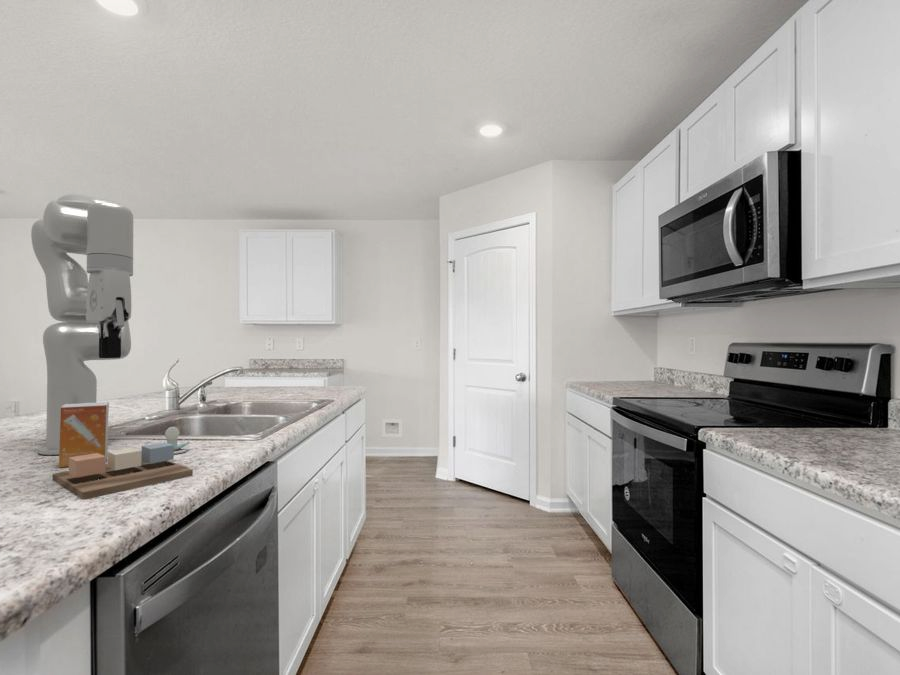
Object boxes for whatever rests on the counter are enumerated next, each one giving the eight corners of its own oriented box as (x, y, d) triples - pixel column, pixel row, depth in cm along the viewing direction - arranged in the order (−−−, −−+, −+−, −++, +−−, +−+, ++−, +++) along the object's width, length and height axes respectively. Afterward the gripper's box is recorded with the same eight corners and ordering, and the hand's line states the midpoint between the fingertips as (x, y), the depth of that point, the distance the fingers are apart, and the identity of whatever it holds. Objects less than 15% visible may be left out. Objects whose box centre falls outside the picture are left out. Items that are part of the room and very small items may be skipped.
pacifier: (187, 455, 110) (189, 448, 116) (187, 429, 110) (190, 424, 115) (151, 458, 107) (155, 451, 113) (151, 431, 107) (156, 426, 112)
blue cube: (141, 460, 95) (141, 445, 95) (164, 456, 99) (164, 442, 99) (150, 463, 93) (150, 449, 93) (173, 459, 96) (173, 445, 96)
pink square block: (68, 473, 86) (68, 457, 86) (97, 468, 89) (97, 452, 89) (76, 477, 83) (76, 461, 83) (105, 472, 86) (105, 456, 86)
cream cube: (106, 466, 90) (107, 451, 90) (132, 461, 94) (132, 447, 94) (115, 470, 88) (115, 454, 88) (141, 465, 91) (141, 450, 91)
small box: (58, 468, 97) (59, 407, 97) (63, 461, 102) (64, 403, 102) (106, 463, 101) (106, 404, 102) (108, 457, 107) (109, 401, 107)
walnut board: (52, 480, 89) (52, 473, 89) (155, 461, 103) (155, 455, 103) (82, 499, 78) (83, 492, 78) (192, 475, 93) (192, 469, 93)
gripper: (74, 268, 93) (73, 358, 92) (102, 258, 84) (101, 358, 84) (117, 273, 99) (117, 358, 98) (147, 264, 90) (147, 357, 90)
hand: (109, 357), depth 91 cm, fingers closed
